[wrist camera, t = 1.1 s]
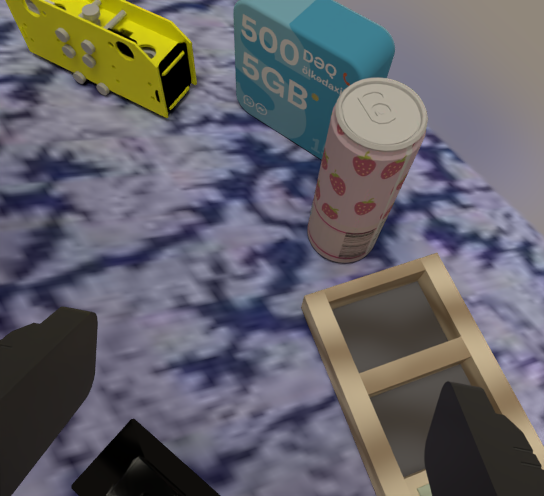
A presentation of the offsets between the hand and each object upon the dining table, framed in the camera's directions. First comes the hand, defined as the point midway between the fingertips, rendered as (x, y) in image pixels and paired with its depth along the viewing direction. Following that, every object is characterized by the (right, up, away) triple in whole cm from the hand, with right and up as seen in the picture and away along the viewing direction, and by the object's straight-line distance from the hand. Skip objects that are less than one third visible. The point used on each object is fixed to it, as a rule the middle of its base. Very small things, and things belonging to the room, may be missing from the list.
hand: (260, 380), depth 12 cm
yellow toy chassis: (-15, +20, +38) cm, 46 cm away
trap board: (+11, -9, +24) cm, 29 cm away
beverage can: (+6, +4, +31) cm, 32 cm away
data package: (+3, +15, +36) cm, 39 cm away
